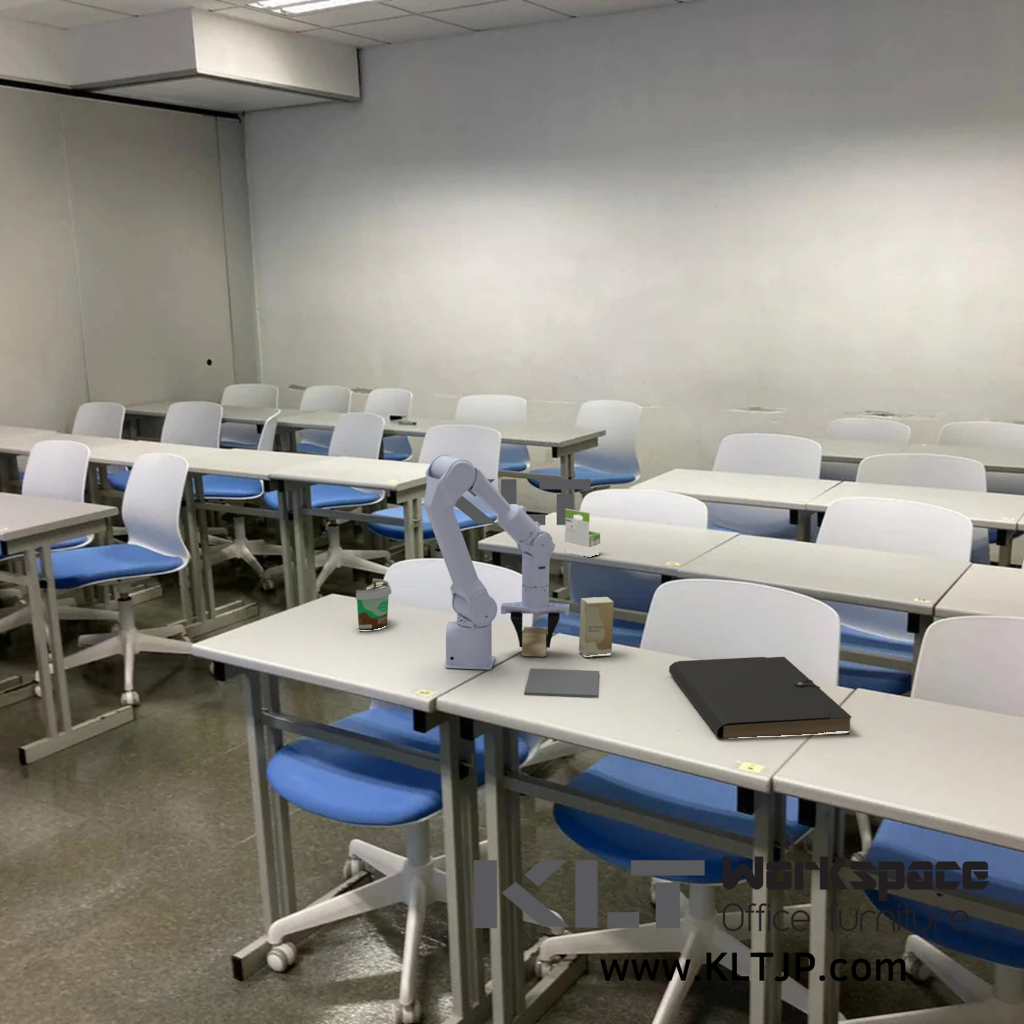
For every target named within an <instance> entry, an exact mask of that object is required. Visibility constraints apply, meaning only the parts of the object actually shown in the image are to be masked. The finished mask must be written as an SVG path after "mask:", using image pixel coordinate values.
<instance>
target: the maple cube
mask: <svg viewBox="0 0 1024 1024" xmlns="http://www.w3.org/2000/svg"><path fill="white" fill-rule="evenodd" d="M522 631H523V633H522V647H521V656H522V657H538V658H539V657H542V658H543V657H544V656H547V651H548V648H547V632H548V626H523V628H522Z"/></svg>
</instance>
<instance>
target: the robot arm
mask: <svg viewBox="0 0 1024 1024" xmlns="http://www.w3.org/2000/svg"><path fill="white" fill-rule="evenodd" d="M425 478H426V486H425V487H426V488H425V493H424V494H425V495H424V501H423V502H424V503H423V505H424V510H425V513H426V515H427V517H428V520H429V522H430V525H431V528H432V531H433V533H434V537H435V539H436V542H437V544H438V547H439V550H440V552H441V555H442V558H443V560H444V563H445V566H446V568H447V569H446V570H447V571H448V574H449V576H450V579H451V582H452V584H451V585H450V587H449V588H450V589H449V590H450V592H451V596H452V597H451V607H452V609H453V611H454V612H455V613H456V615H457V616H456V620H455V621H448V622H447V625H446V629H445V630H446V631H445V668H446V669H462V670H487V671H489V670H492V668H493V665H494V663H495V659H496V656H495V655H493V654H492V651H493V649H492V647H493V645H492V642H493V640H492V639H493V638H492V637H493V636H492V635H493V634H492V632H493V630H492V629H493V627H492V624H493V623H492V622H493V621H494V620H495V618H496V616H497V613H498V604H497V602H496V600H495V599H494V597H492V596H491V595H490V594H489V592H488V590H487V588H486V586H485V585H484V584H483V582H482V581H481V579H480V578H479V577H478V573H477V571H476V568H475V566H474V563H473V560H472V557H471V555H470V552H469V550H468V546H467V544H466V541H465V538H464V535H463V533H462V531H461V527H460V525H459V522H458V518H457V516H456V514H455V511H454V507H455V506H456V504H457V502H458V501H459V499H461V498H462V496H463V495H464V494H465V493H466V492H468V491H470V492H473V494H474V495H476V496H477V497H478V498H479V499H480V500H481V501H482V502H483V503H485V505H486V506H487V507H488V508H490V509H491V510H492V511H493V512H494V513H495V514H496V515H497V524H498V526H500V528H501V529H503V530H504V532H506V533H507V535H509V536H510V538H511V539H512V540H514V542H516V546H517V549H518V550H520V551H522V553H521V558H522V559H521V565H522V566H521V601H518V602H517V601H516V602H515V601H514V602H502V603H501V604H500V614H501V615H506V614H510V621H511V622H512V625H513V627H514V630H515V632H516V635H517V639H518V644H519V645H518V646H519V648H522V633H523V614H525V615H526V614H527V615H528V614H533V615H534V614H535V615H536V614H537V615H547V649H549V648H551V643H552V642H551V641H552V638H553V634H554V632H555V630H556V627H557V625H558V623H559V621H560V618H561V617H560V615H564V616H570V604H569V603H559V602H558V603H557V602H549V601H550V599H549V598H550V595H549V594H550V593H549V590H550V589H549V587H550V563H551V561H550V560H551V556H552V554H553V552H554V551H555V549H556V543H555V542H553V541H554V540H553V538H552V536H551V534H550V533H548V532H546V531H544V530H541V528H540V527H541V523H540V522H538V521H534V519H533V518H532V517H531V516H530V515H529V514H527V511H528V509H527V508H526V507H525V506H523V505H519V504H517V503H511V504H510V503H509V502H508V501H507V500H506V498H505V497H504V496H503V495H502V493H501V492H500V491H498V489H496V487H495V486H494V485H493V484H492V483H491V482H490V480H489V479H488V478H487V476H485V474H483V472H482V471H481V470H480V469H478V468H477V467H476V466H474V465H473V463H472V462H471V461H469V460H467V459H465V458H458V457H454V456H452V455H450V454H447V453H446V454H445V453H442V454H441V453H440V454H439V455H437V456H434V458H433V459H432V460H431V462H430V464H429V466H428V467H427V468H426V471H425Z"/></svg>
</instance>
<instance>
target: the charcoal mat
mask: <svg viewBox="0 0 1024 1024" xmlns="http://www.w3.org/2000/svg"><path fill="white" fill-rule="evenodd" d="M599 681H600V671H599V670H589V669H588V670H587V669H586V670H584V669H583V670H581V669H557V668H535V667H534V668H532V667H531V668H529V673H528V677H527V679H526V685H525V687H524V688H525V689H524V692H523V695H524V696H543V695H545V696H547V697H548V696H549V697H571V698H592V697H598V696H599V684H598V683H600V682H599ZM598 698H599V697H598Z"/></svg>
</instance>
